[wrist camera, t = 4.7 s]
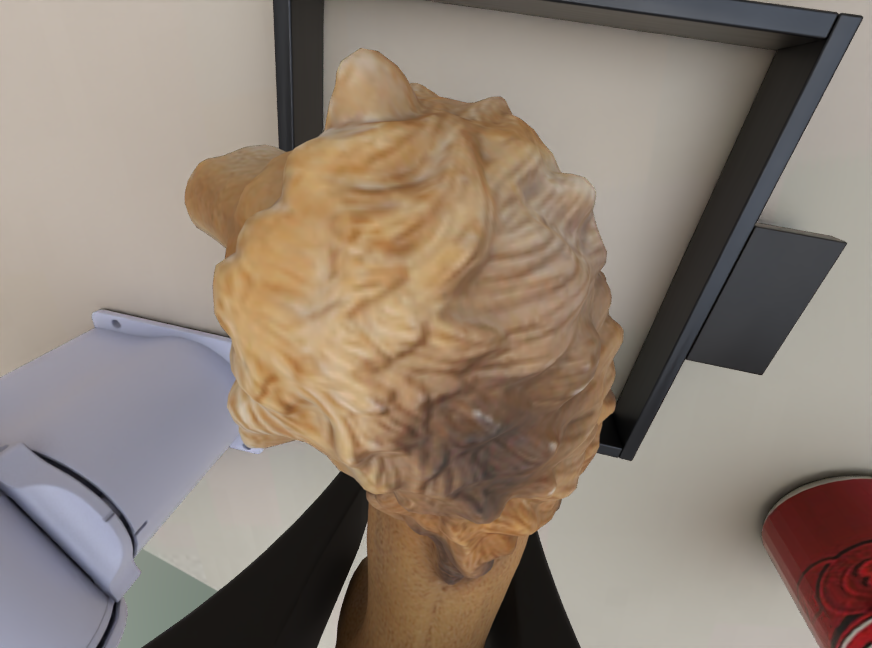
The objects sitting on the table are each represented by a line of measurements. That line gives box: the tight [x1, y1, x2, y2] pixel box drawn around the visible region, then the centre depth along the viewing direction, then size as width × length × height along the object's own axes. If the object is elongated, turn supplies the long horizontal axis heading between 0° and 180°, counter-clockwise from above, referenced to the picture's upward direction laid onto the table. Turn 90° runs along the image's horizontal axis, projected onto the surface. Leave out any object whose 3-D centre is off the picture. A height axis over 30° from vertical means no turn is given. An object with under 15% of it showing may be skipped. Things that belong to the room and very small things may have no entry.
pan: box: [273, 0, 863, 461], centre depth 16 cm, size 19×16×2 cm
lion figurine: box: [185, 48, 624, 648], centre depth 8 cm, size 15×5×9 cm, turn 1°
